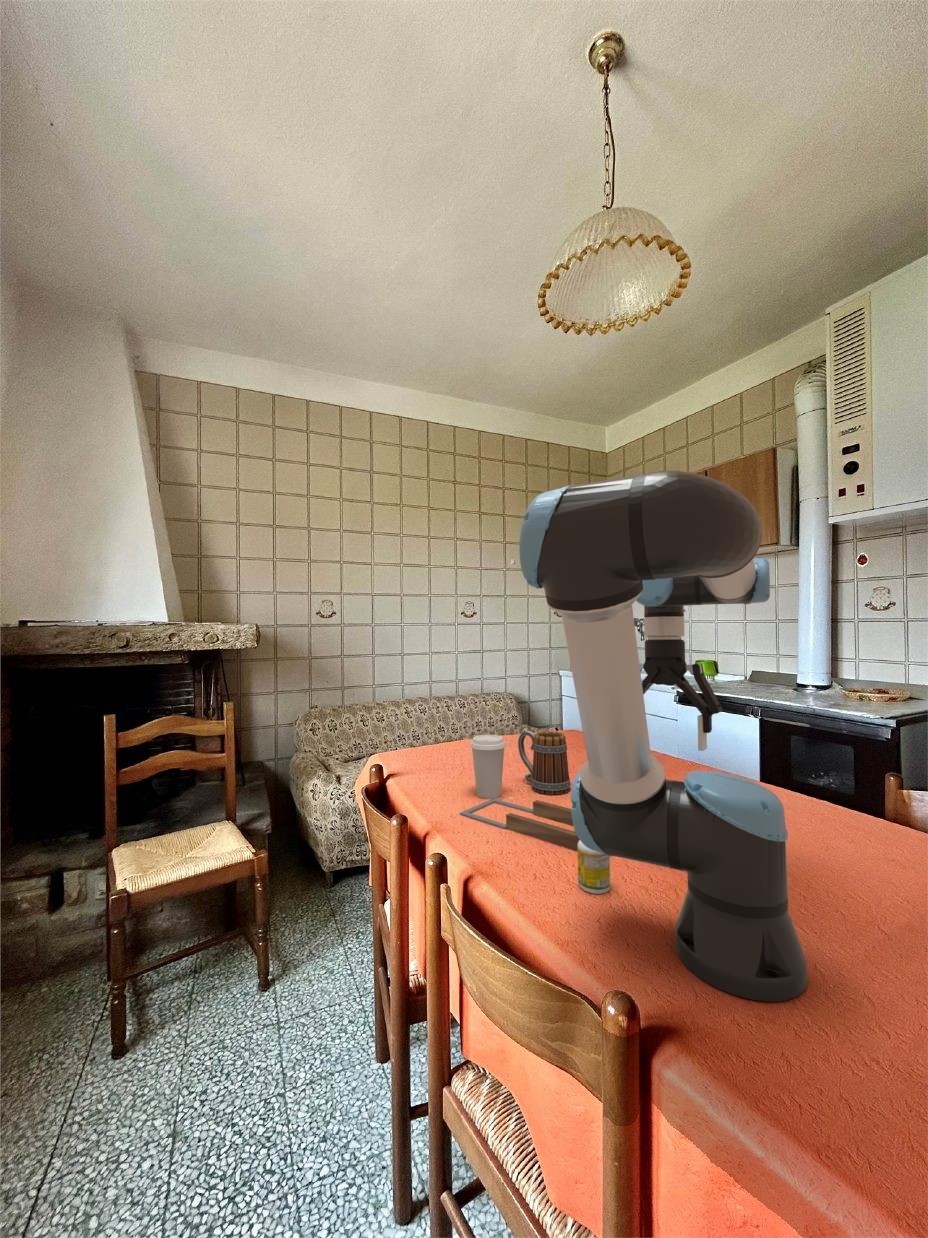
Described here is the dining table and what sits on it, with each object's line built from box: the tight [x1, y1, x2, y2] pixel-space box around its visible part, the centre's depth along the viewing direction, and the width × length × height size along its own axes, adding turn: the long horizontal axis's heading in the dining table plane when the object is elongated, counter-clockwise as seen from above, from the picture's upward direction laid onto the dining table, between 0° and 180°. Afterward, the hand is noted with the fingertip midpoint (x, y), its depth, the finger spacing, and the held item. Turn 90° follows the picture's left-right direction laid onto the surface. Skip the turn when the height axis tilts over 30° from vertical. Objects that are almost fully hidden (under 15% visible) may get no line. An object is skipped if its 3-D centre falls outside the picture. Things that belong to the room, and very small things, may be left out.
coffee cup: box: [469, 734, 507, 800], centre depth 131 cm, size 10×10×15 cm
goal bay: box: [459, 798, 533, 830], centre depth 118 cm, size 13×14×1 cm
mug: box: [517, 730, 571, 796], centre depth 136 cm, size 16×11×15 cm
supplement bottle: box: [577, 840, 612, 895], centre depth 84 cm, size 5×5×10 cm
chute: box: [505, 799, 580, 852], centre depth 106 cm, size 12×22×3 cm, turn 48°
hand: (666, 744), depth 99 cm, fingers open, 13 cm apart
